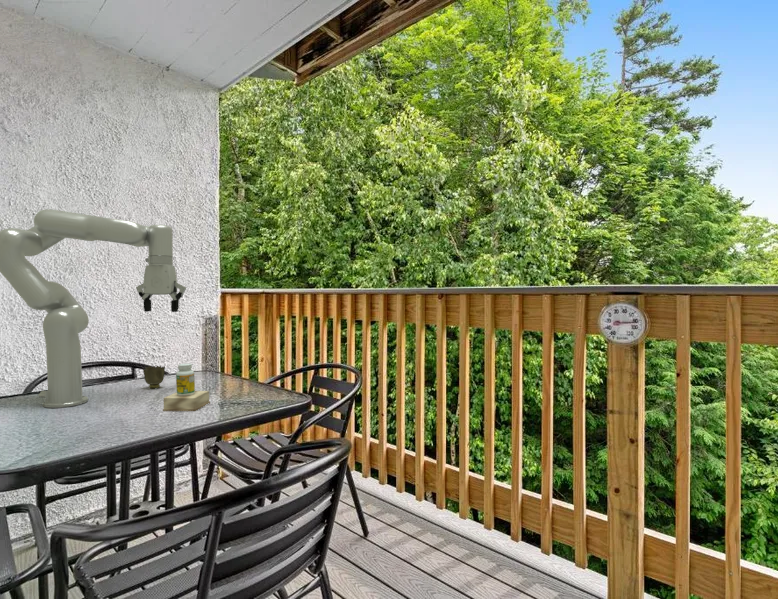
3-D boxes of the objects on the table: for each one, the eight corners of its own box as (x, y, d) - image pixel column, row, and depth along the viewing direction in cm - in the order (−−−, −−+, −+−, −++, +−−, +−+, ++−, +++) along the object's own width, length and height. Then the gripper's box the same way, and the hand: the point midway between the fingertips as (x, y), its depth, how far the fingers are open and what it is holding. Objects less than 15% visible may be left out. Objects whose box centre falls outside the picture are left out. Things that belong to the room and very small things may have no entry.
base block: (162, 411, 154) (162, 398, 154) (179, 402, 164) (179, 390, 164) (195, 411, 153) (195, 398, 153) (210, 403, 163) (209, 390, 163)
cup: (159, 390, 184) (159, 368, 183) (139, 390, 184) (139, 368, 184) (168, 386, 191) (168, 365, 191) (149, 386, 191) (149, 365, 191)
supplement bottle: (198, 393, 160) (197, 363, 160) (187, 396, 155) (186, 366, 155) (184, 392, 162) (183, 362, 162) (172, 395, 157) (172, 365, 156)
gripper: (130, 261, 167) (130, 311, 168) (179, 261, 166) (179, 312, 166) (143, 262, 175) (143, 310, 175) (190, 262, 173) (190, 311, 174)
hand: (161, 311), depth 171 cm, fingers open, 9 cm apart
